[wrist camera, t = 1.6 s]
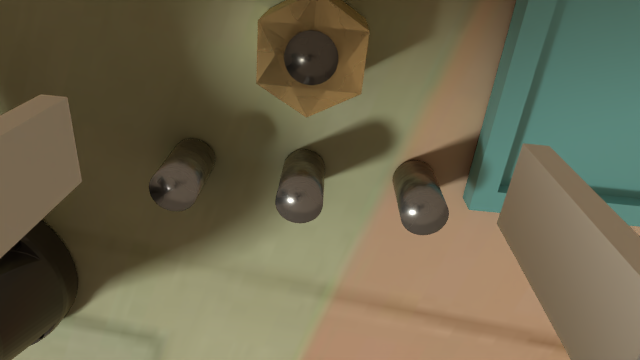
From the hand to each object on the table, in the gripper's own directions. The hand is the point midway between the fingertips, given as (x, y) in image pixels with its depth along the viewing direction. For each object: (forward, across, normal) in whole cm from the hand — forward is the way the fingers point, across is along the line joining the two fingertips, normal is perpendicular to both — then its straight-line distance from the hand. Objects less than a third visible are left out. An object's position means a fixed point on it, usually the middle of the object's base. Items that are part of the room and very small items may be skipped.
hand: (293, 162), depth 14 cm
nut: (+18, 0, 0) cm, 18 cm away
